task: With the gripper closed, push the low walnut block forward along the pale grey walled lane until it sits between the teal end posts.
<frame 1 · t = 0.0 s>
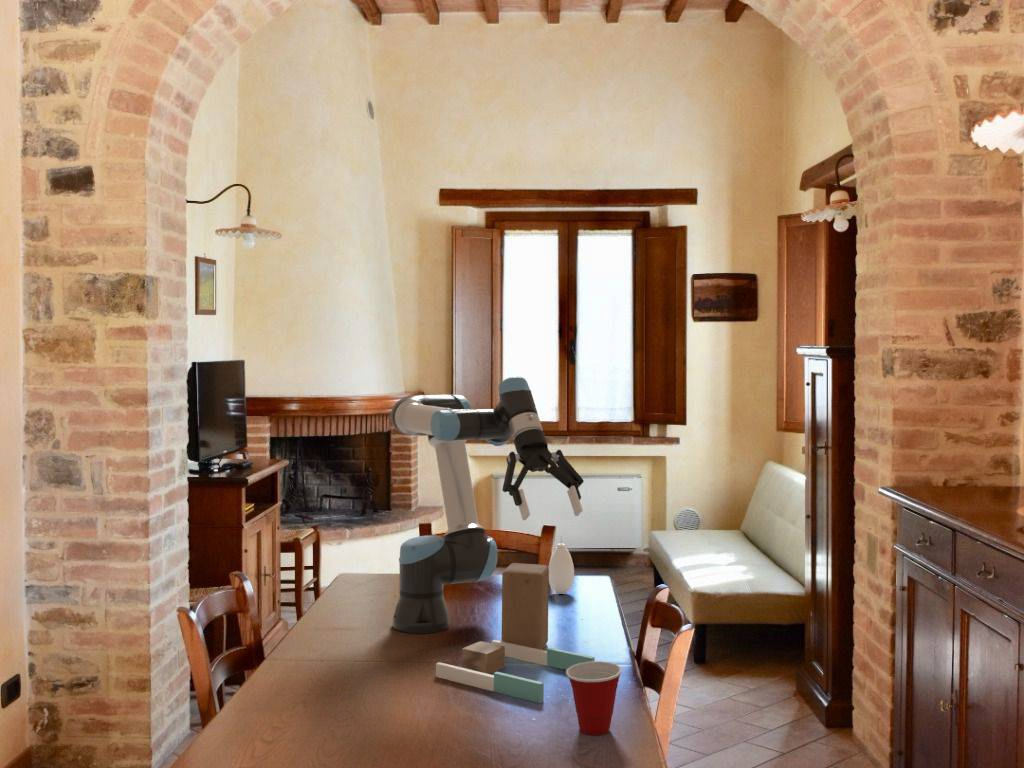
hand: (553, 515, 218), 36 cm above the table, tool tilted 35°, fingers open, 13 cm apart
wooden block: (524, 648, 238), on the table
plastic cup: (593, 730, 186), on the table
walled lane: (511, 674, 217), on the table
sauce bottle: (560, 595, 291), on the table
walnut block: (483, 668, 222), on the table
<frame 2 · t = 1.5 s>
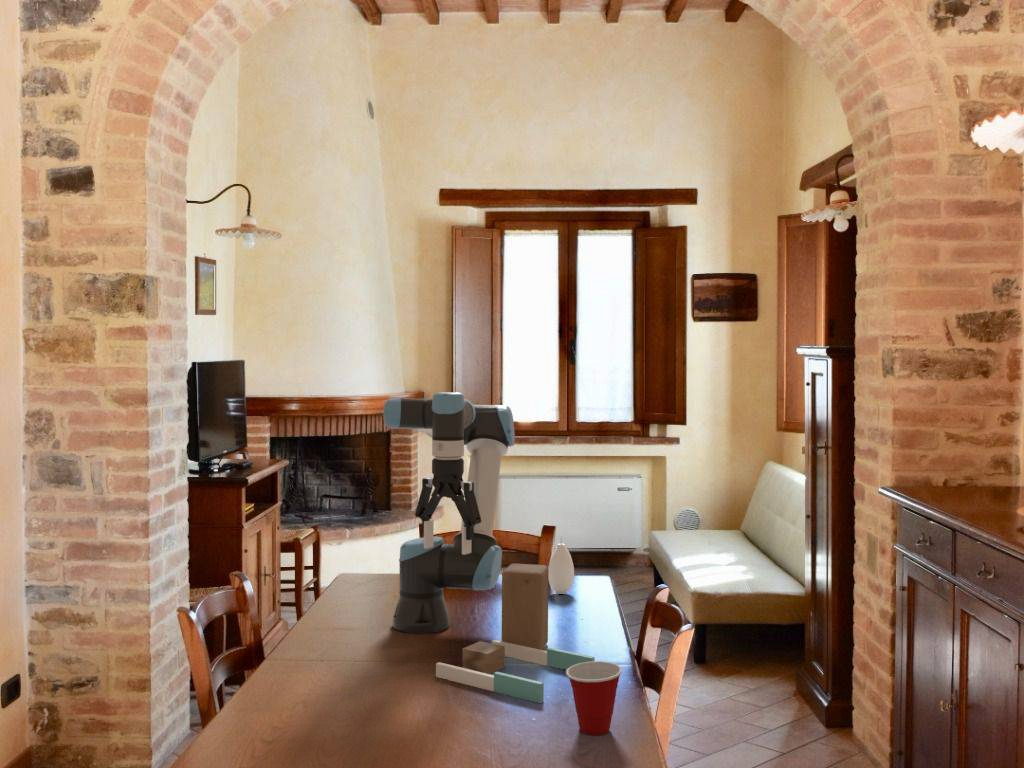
hand: (447, 550, 228), 26 cm above the table, tool pointing down, fingers open, 11 cm apart
nothing on the table moved.
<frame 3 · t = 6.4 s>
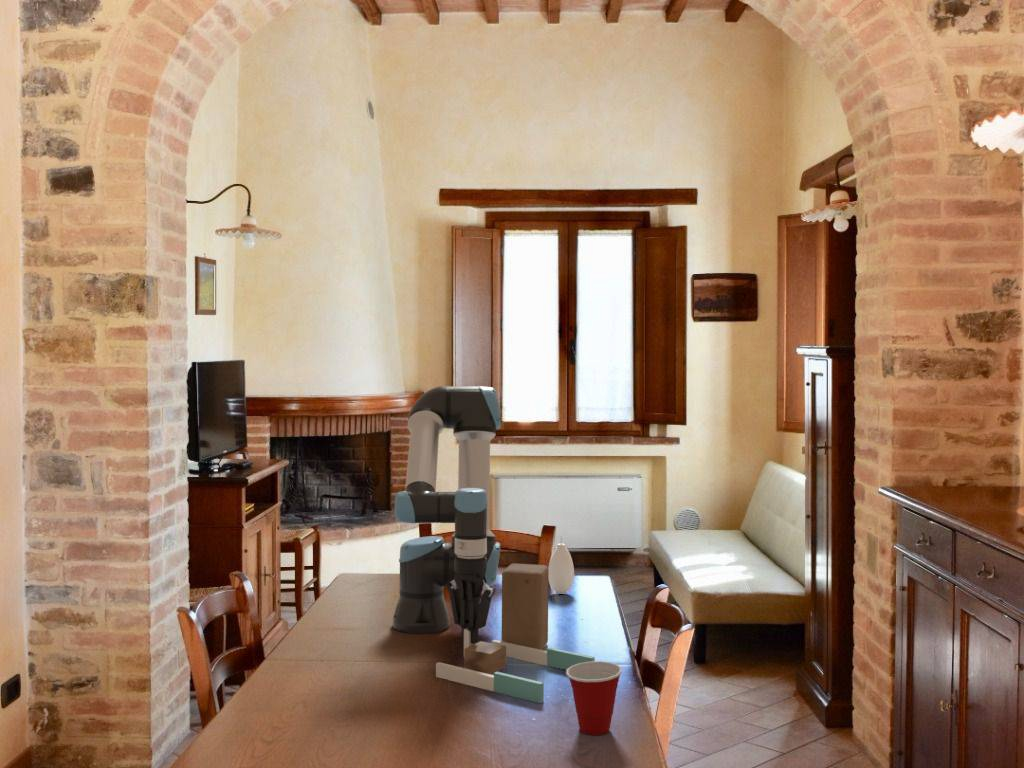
hand: (469, 656, 224), 2 cm above the table, tool pointing down, fingers closed
walnut block: (485, 668, 222), on the table, touching gripper
everything else where it was.
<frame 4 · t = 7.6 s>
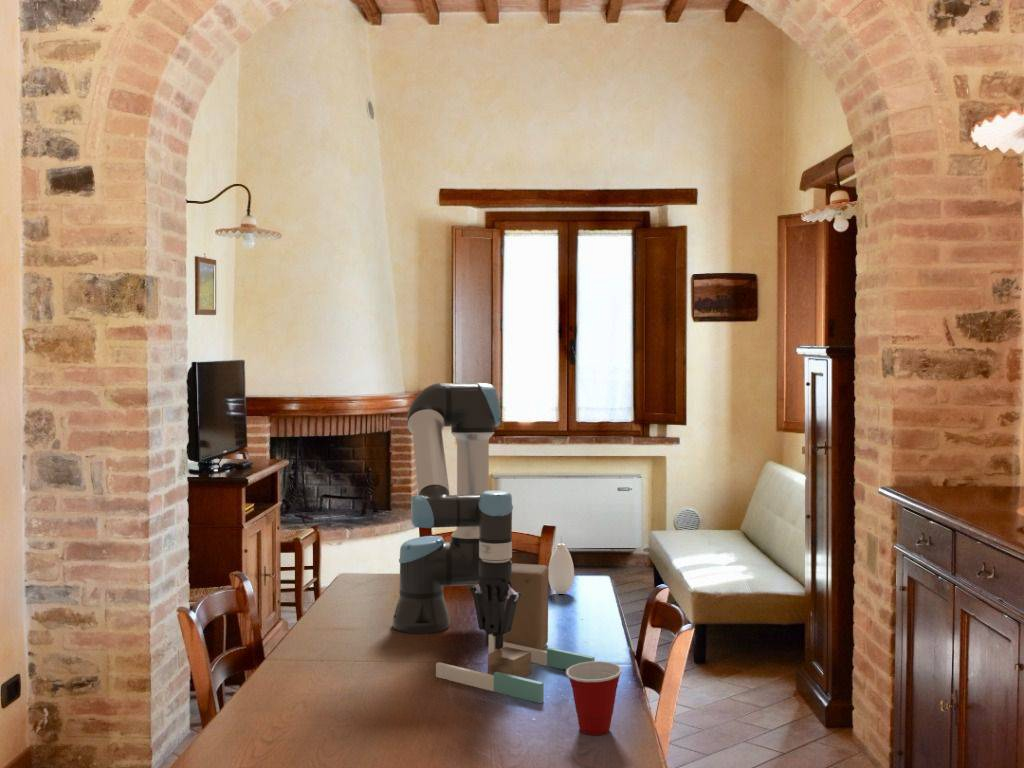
hand: (494, 661, 220), 2 cm above the table, tool pointing down, fingers closed
walnut block: (509, 675, 218), on the table
everything else where it was.
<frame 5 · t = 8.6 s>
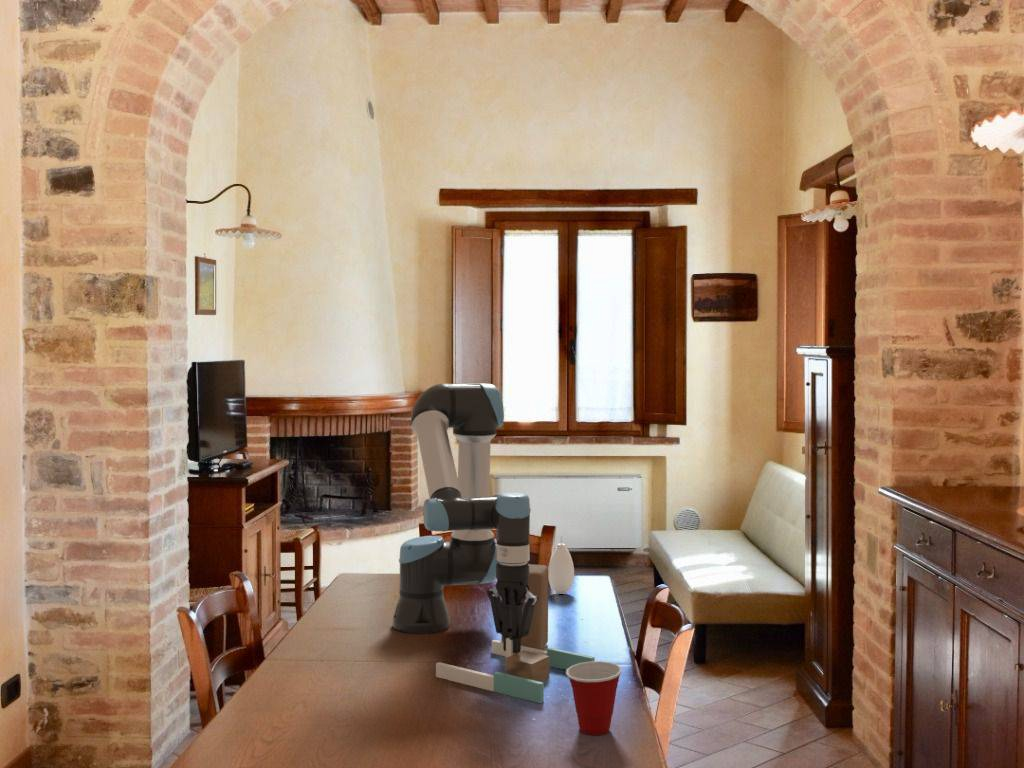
hand: (511, 666, 217), 2 cm above the table, tool pointing down, fingers closed
walnut block: (527, 679, 215), on the table, touching gripper
everything else where it was.
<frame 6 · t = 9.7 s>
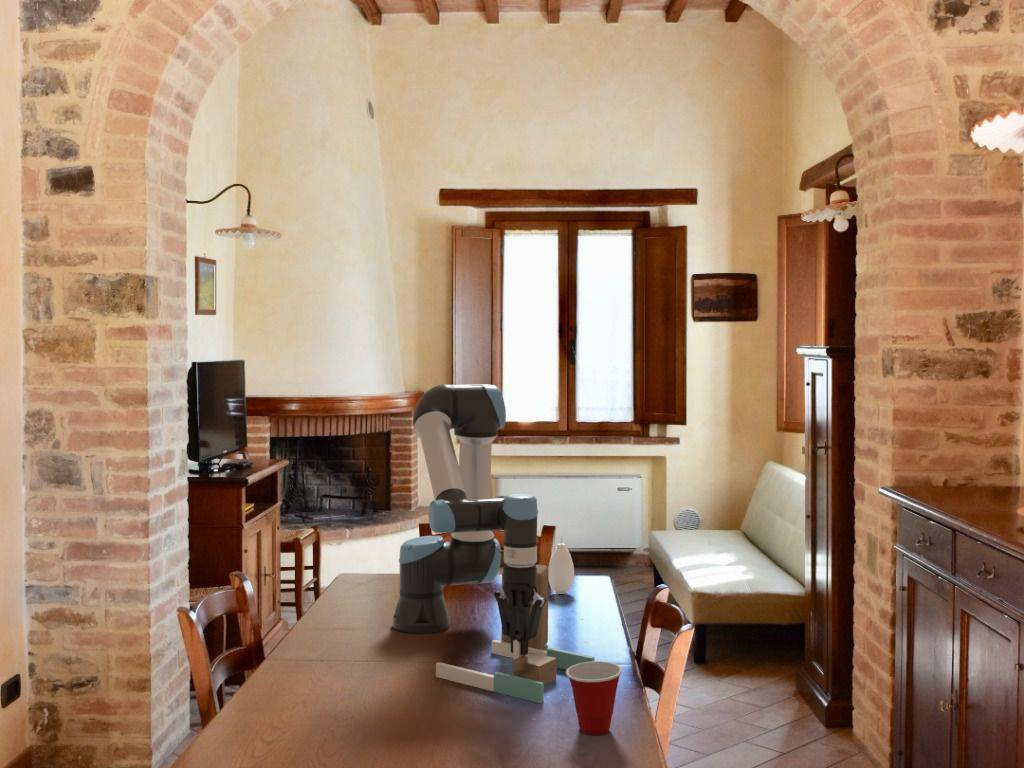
hand: (519, 668, 216), 2 cm above the table, tool pointing down, fingers closed
walnut block: (534, 681, 214), on the table
everything else where it was.
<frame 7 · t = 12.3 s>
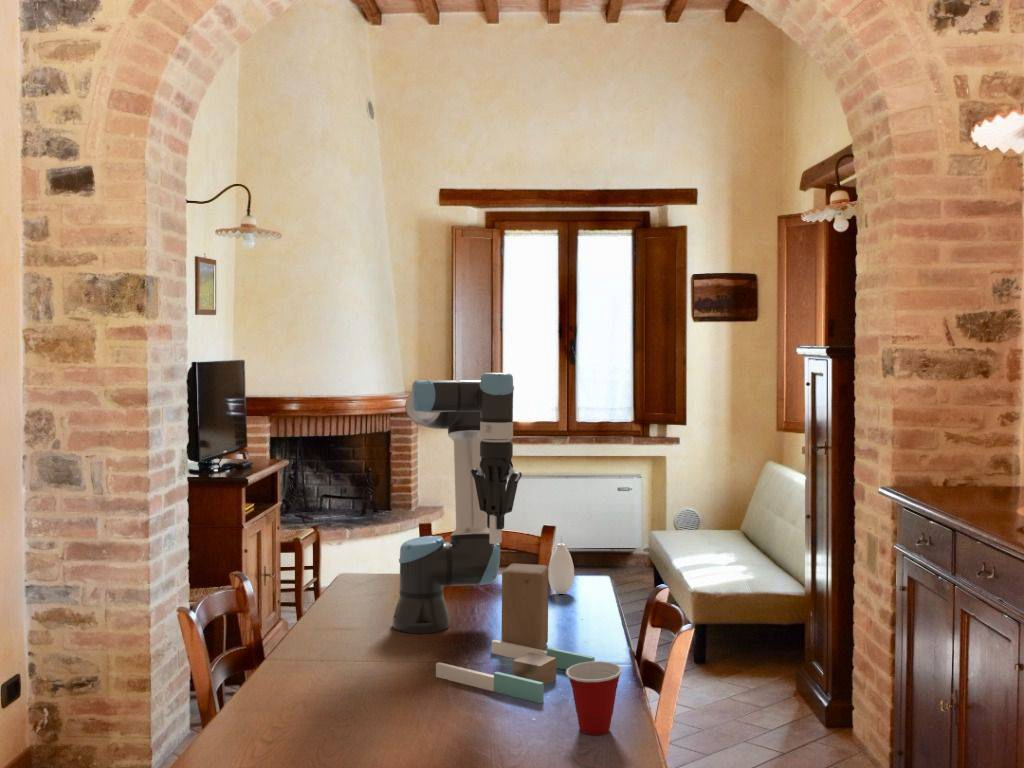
hand: (495, 542, 220), 29 cm above the table, tool pointing down, fingers closed
nothing on the table moved.
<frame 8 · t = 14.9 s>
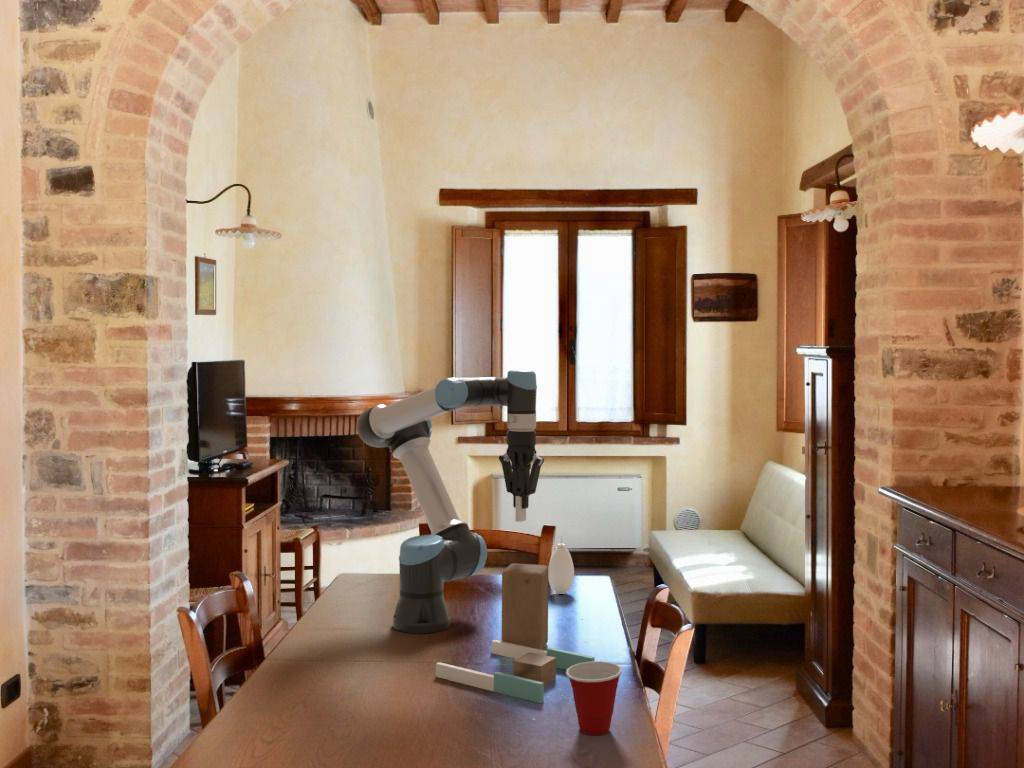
hand: (520, 520, 249), 29 cm above the table, tool pointing down, fingers closed
nothing on the table moved.
at the end: walnut block inside the target area (4.8 cm from its centre), on the table; walnut block tilted 0° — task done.
